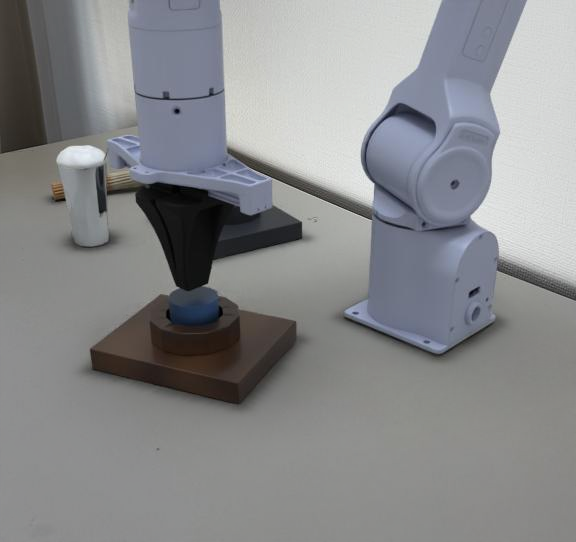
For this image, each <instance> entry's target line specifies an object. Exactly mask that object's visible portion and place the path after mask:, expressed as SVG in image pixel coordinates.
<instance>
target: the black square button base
mask: <svg viewBox="0 0 576 542" xmlns="http://www.w3.org/2000/svg"><path fill="white" fill-rule="evenodd" d="M300 239H303V222H302V220H299V219H298V218H296V217H295V216H292V215H291V214H289V213H288V212H286V211H284V210H283V209H281V208H279V207H277V206H276V205H273V204H272V208H270V209H268V210H265V211H262V212H260V213H257V214H254V215H251V216H250V215H247V214H244V213H242V212H240V207H239V206H236V205H234V207H233V209H232V211H231V212H230V214H229V216H228V218H227V220H226V222H225V224H224V227H223V229H222V231H221V234H220V237H219V240H218V243H217V246H216V250H215V254H214V258H213V260H216V259H219V258H224V257H227V256H232V255H235V254H240V253H244V252H249V251H253V250H257V249H261V248H266V247H271V246H275V245H278V244H283V243H287V242H291V241H296V240H300Z"/></svg>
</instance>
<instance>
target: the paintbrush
mask: <svg viewBox="0 0 576 542" xmlns="http://www.w3.org/2000/svg"><path fill="white" fill-rule="evenodd" d="M50 185H51V191H52V194H53V198H54V200H56V201H57V200H63V199H66V198H65V194H64V190H63V186H62V182H61V181H56V182H52V183H50ZM143 185H144V187H145V188H149V184H143V183H140V182H138V181H135V180H132V179H131V178H130V173H129V170H124V171H119V172H112V173H107V192H109V191H110V192H111V191H114V190H115V191H116V190H122V189H127V188H133V187H137V186H143Z"/></svg>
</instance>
